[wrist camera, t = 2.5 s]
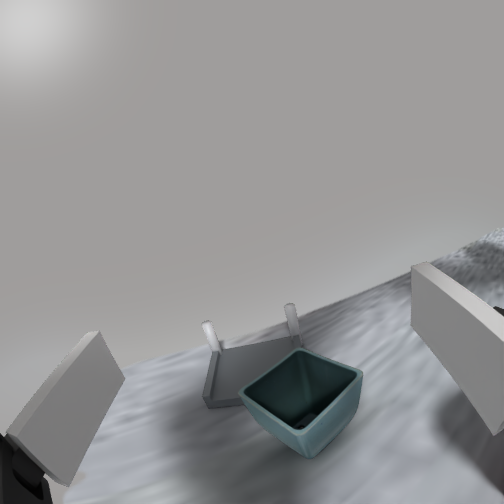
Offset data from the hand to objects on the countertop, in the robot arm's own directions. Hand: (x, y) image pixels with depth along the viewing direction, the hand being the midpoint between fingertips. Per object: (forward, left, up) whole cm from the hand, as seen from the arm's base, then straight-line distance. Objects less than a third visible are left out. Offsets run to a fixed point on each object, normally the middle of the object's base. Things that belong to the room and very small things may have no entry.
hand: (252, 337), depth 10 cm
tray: (+5, -23, -22) cm, 32 cm away
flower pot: (-1, -10, -22) cm, 24 cm away
